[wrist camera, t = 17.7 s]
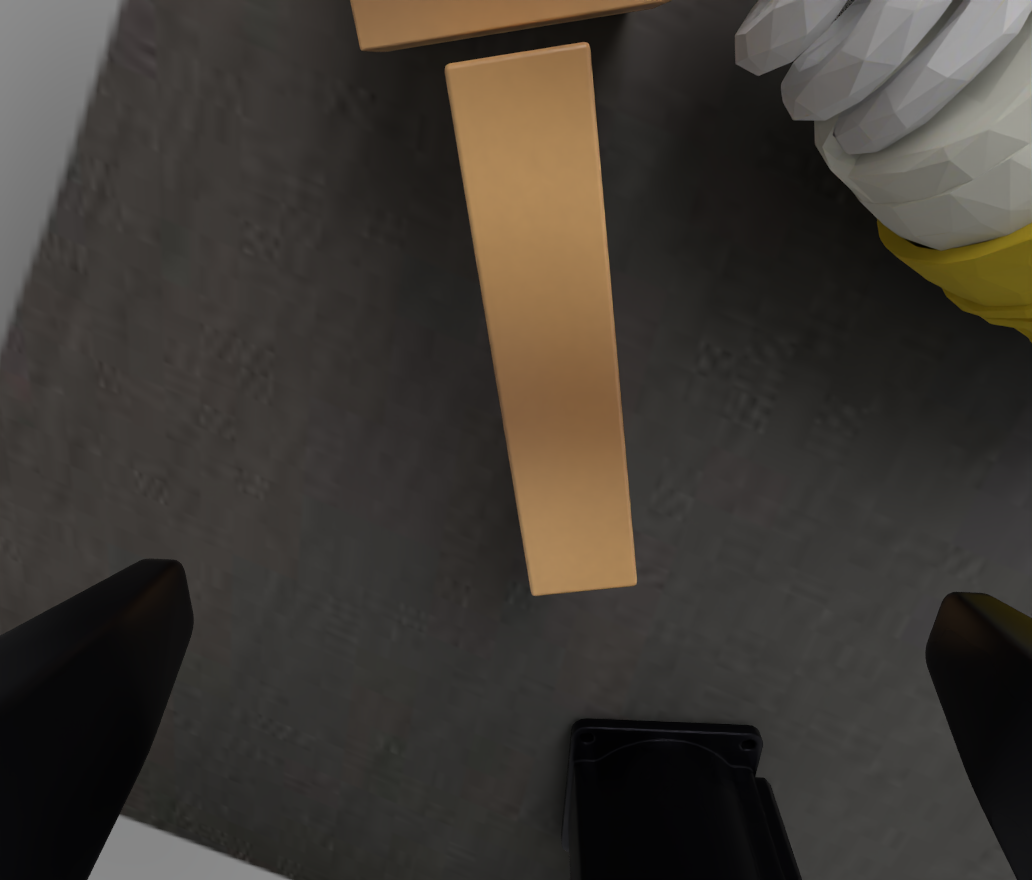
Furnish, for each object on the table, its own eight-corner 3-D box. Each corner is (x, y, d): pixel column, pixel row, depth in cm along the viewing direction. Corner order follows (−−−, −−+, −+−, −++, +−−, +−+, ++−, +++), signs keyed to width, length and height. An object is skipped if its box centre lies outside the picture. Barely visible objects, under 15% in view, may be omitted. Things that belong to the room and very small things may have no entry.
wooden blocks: (362, -178, 15) (254, -328, 9) (620, -227, 15) (678, -415, 9) (479, 457, 22) (460, 605, 16) (661, 436, 21) (712, 579, 15)
